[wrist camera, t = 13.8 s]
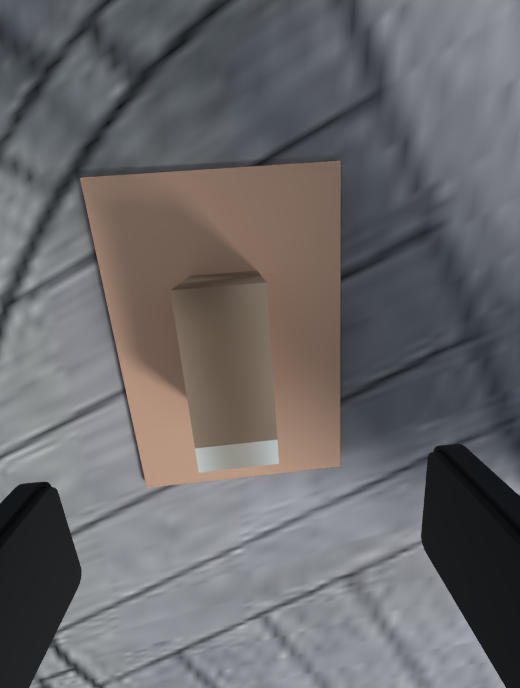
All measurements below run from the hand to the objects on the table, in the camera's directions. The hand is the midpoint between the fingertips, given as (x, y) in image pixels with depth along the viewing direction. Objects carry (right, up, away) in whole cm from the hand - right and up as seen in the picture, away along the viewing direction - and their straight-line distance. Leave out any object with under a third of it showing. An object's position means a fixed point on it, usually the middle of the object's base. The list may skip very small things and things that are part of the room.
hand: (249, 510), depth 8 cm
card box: (-2, +4, +12) cm, 13 cm away
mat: (-2, +4, +13) cm, 14 cm away
